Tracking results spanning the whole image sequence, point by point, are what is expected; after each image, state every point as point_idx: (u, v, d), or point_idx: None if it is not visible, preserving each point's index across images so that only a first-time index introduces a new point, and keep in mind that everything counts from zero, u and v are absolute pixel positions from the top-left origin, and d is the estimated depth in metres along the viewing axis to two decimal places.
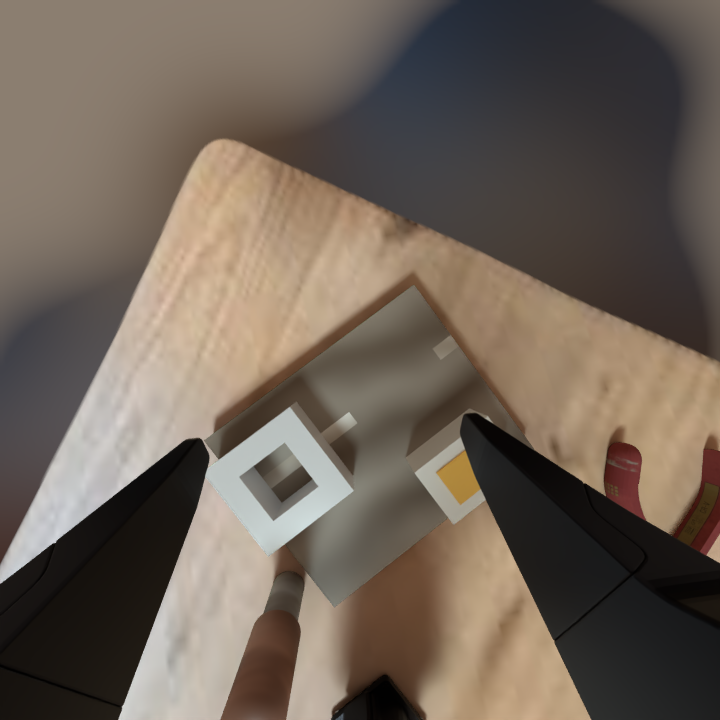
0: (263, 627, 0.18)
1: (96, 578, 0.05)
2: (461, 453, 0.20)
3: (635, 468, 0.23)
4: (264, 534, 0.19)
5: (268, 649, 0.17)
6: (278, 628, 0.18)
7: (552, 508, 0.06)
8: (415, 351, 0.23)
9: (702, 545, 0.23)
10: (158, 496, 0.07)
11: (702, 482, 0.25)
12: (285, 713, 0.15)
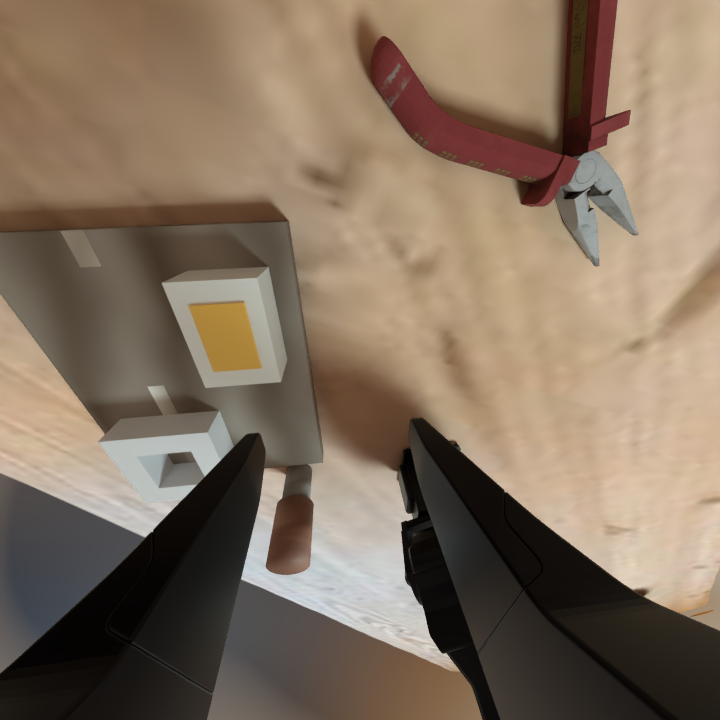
0: None
1: (196, 566, 0.05)
2: (201, 337, 0.16)
3: (403, 76, 0.13)
4: None
5: (274, 529, 0.23)
6: (279, 513, 0.24)
7: (468, 518, 0.06)
8: (81, 289, 0.17)
9: (594, 52, 0.13)
10: (235, 489, 0.07)
11: None
12: (296, 550, 0.21)
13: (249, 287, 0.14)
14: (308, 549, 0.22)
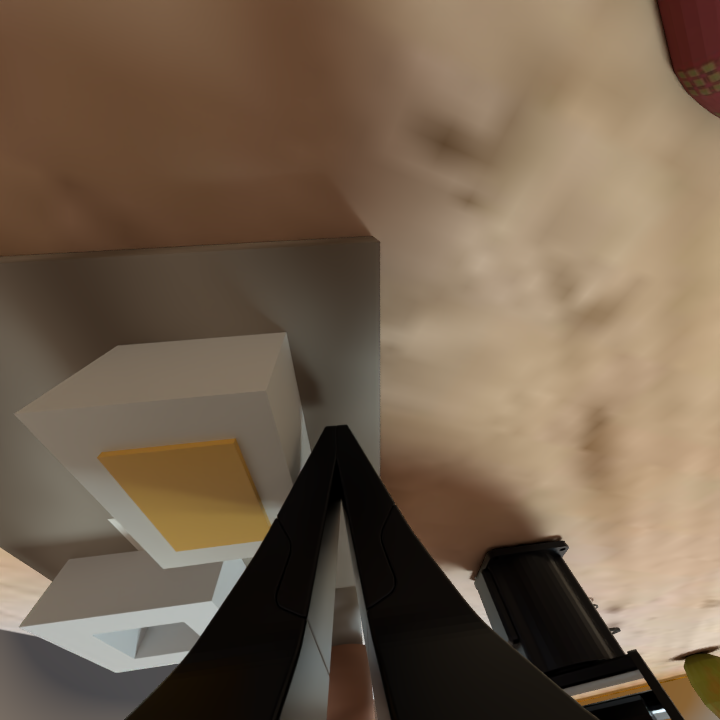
0: None
1: (324, 550, 0.05)
2: (142, 503, 0.07)
3: None
4: None
5: None
6: None
7: (350, 532, 0.05)
8: None
9: None
10: (334, 478, 0.07)
11: None
12: None
13: (248, 412, 0.06)
14: None
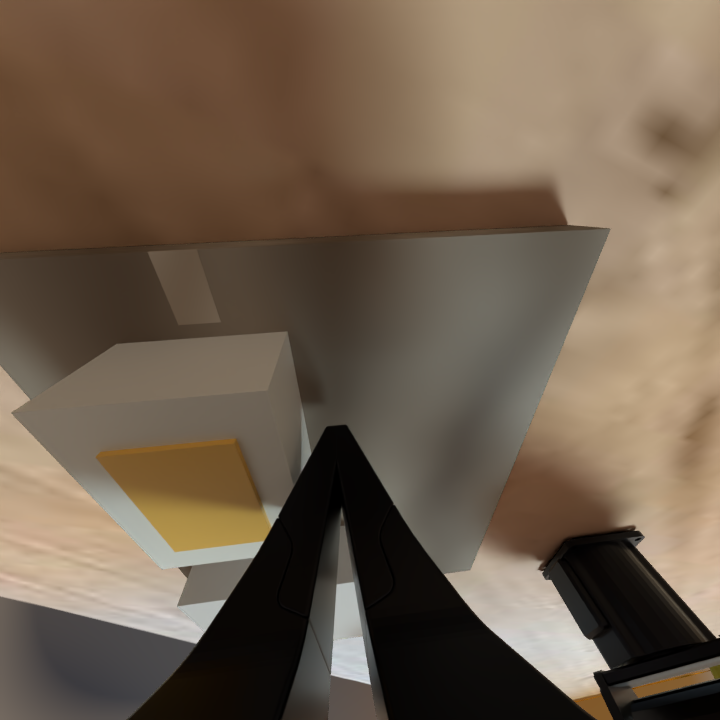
0: None
1: (325, 550, 0.05)
2: (141, 503, 0.07)
3: None
4: (338, 635, 0.16)
5: None
6: None
7: (349, 532, 0.05)
8: None
9: None
10: (335, 478, 0.07)
11: None
12: None
13: (249, 411, 0.06)
14: None
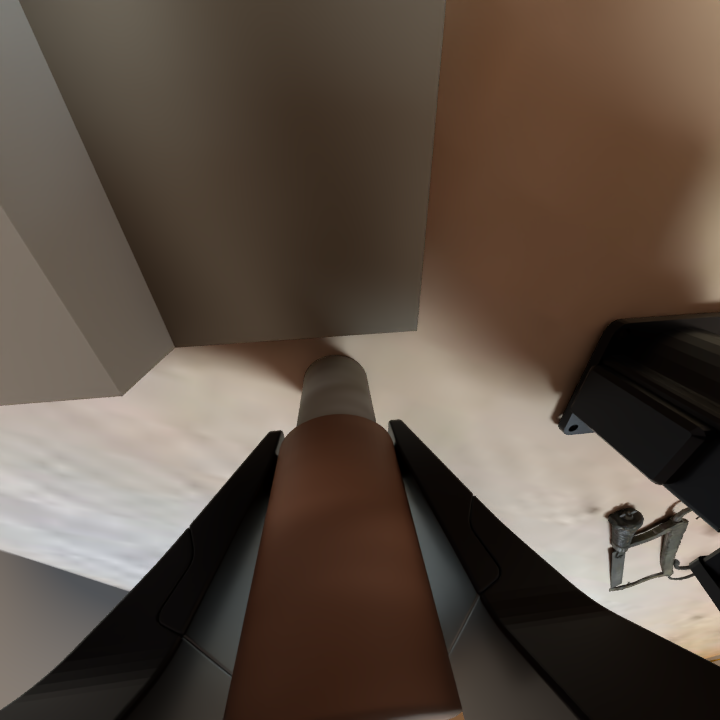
0: (271, 488, 0.07)
1: (233, 561, 0.05)
2: None
3: None
4: (34, 374, 0.06)
5: (271, 533, 0.05)
6: (288, 469, 0.06)
7: (434, 522, 0.06)
8: None
9: None
10: (264, 485, 0.07)
11: None
12: (402, 664, 0.03)
13: None
14: (442, 636, 0.04)
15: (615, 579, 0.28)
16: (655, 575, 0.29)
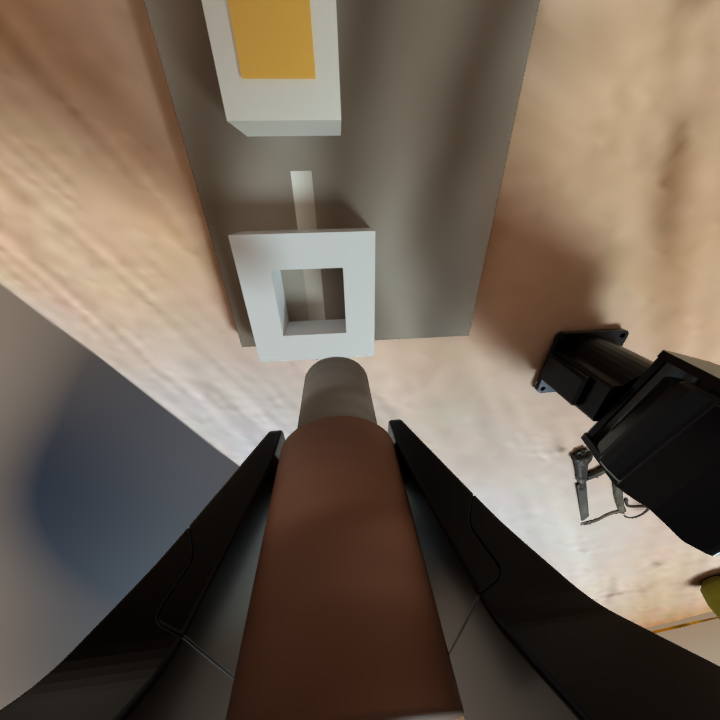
0: None
1: (233, 562, 0.05)
2: None
3: None
4: (353, 347, 0.18)
5: (272, 536, 0.05)
6: (290, 471, 0.06)
7: (435, 522, 0.06)
8: None
9: None
10: (264, 486, 0.07)
11: None
12: (404, 667, 0.03)
13: None
14: (443, 638, 0.04)
15: (583, 513, 0.40)
16: (612, 511, 0.41)
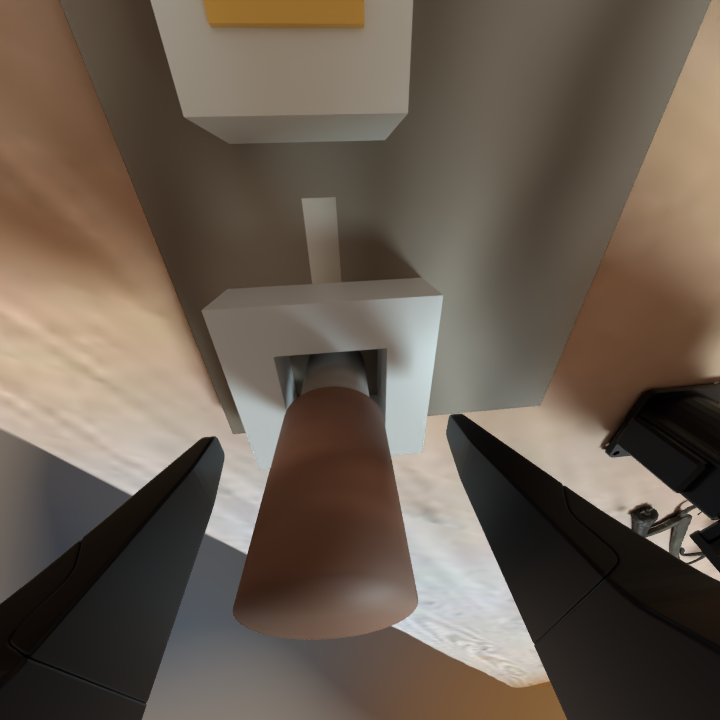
0: None
1: (123, 575, 0.05)
2: None
3: None
4: (393, 445, 0.13)
5: (275, 473, 0.06)
6: (291, 427, 0.07)
7: (530, 511, 0.06)
8: None
9: None
10: (178, 494, 0.07)
11: None
12: (369, 552, 0.05)
13: None
14: (407, 549, 0.06)
15: None
16: None
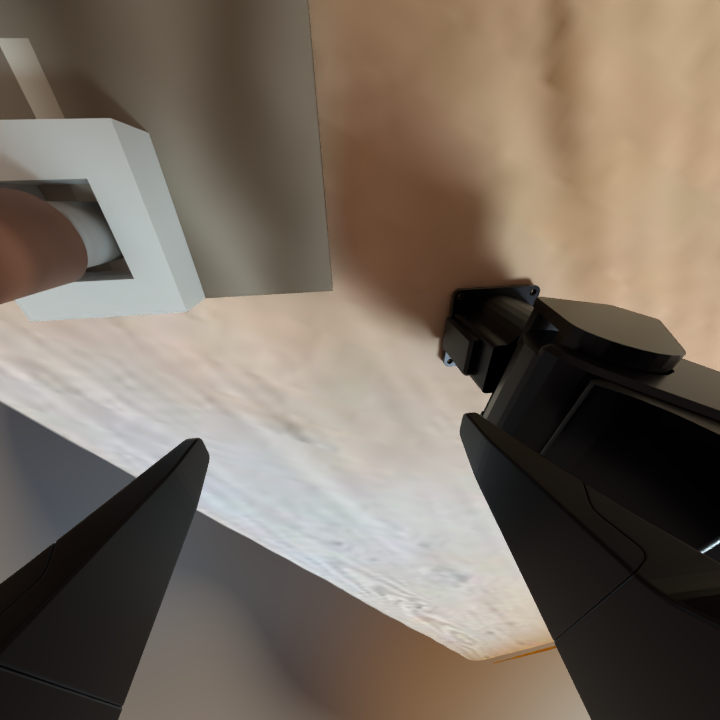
0: None
1: (96, 578, 0.05)
2: None
3: None
4: (152, 300, 0.14)
5: None
6: None
7: (552, 508, 0.06)
8: None
9: None
10: (158, 496, 0.07)
11: None
12: None
13: None
14: None
15: None
16: None
